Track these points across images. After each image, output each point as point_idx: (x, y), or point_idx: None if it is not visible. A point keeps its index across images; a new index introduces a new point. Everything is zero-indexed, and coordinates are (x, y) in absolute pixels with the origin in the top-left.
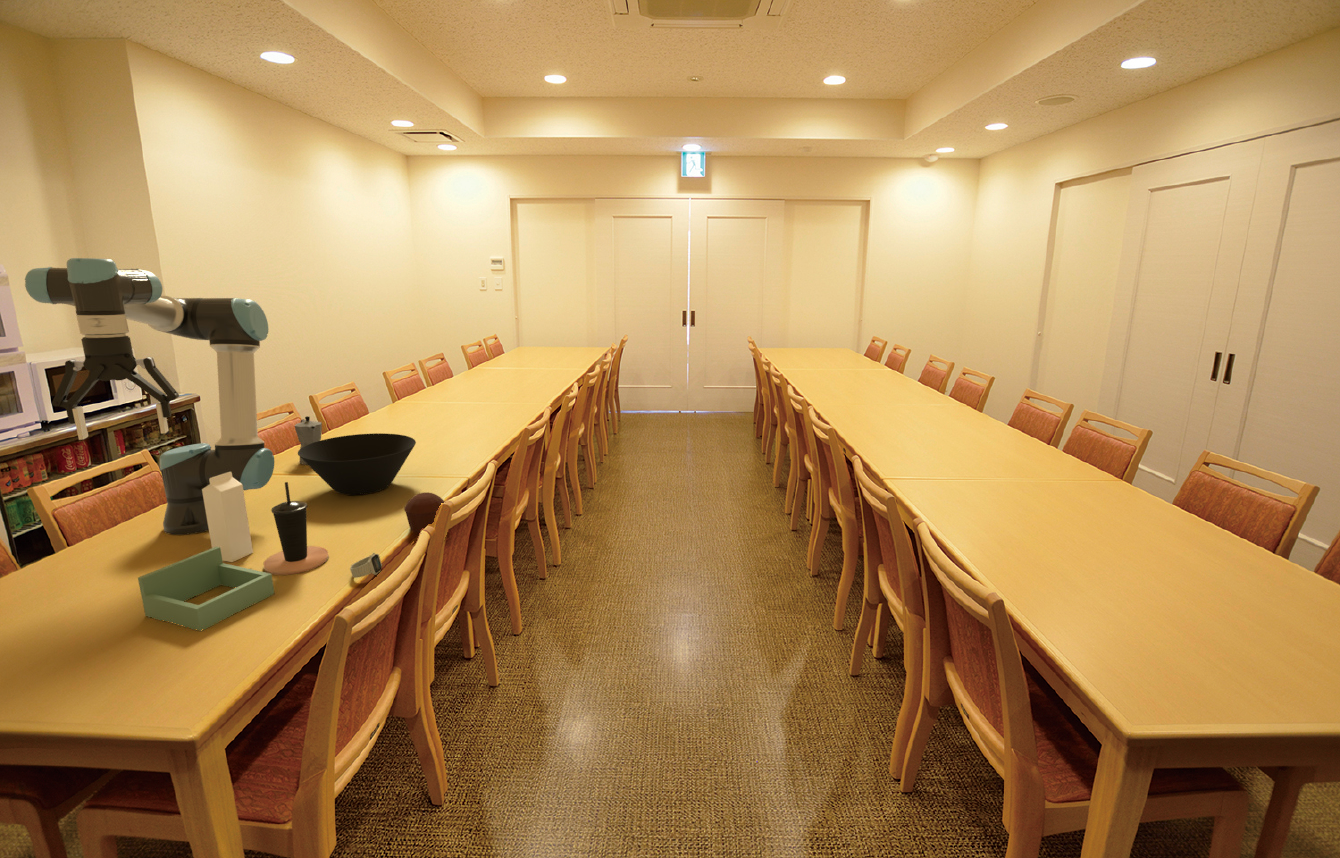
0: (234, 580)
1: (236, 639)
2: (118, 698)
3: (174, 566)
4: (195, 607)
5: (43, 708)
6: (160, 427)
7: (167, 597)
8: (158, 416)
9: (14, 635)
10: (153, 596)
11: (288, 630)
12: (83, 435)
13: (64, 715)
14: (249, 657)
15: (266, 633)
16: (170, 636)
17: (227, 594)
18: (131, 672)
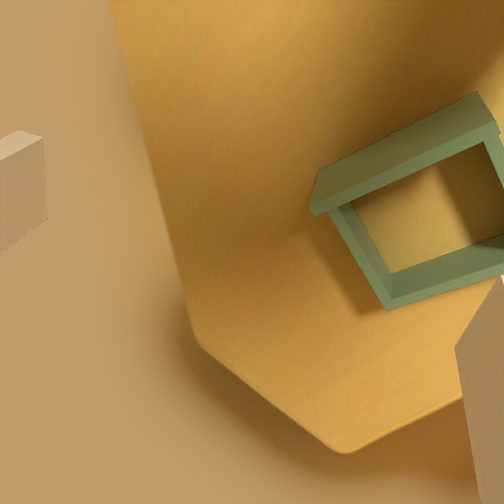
0: (490, 159)
1: (422, 339)
2: (283, 368)
3: (378, 187)
4: (385, 304)
5: (218, 336)
6: (463, 384)
7: (352, 233)
8: (478, 463)
9: (136, 99)
10: (331, 211)
11: None
12: (31, 218)
13: (238, 362)
14: (421, 389)
15: None
16: (346, 269)
17: (443, 292)
18: (296, 328)
